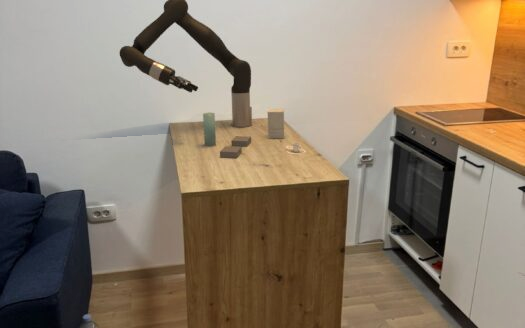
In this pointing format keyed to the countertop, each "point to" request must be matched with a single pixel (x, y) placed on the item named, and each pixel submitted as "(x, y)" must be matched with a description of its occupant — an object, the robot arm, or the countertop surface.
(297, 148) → the teacup and saucer
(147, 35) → the robot arm
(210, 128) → the teal green tall block
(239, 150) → the rectangular blocks
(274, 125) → the supplement box
